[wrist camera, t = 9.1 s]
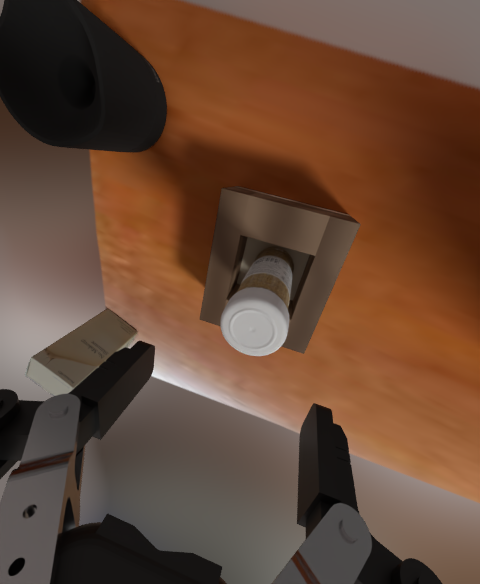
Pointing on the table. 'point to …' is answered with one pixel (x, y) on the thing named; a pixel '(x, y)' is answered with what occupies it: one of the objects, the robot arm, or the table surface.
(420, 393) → the table surface
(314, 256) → the socket block
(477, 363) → the table surface
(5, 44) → the pen holder
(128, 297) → the table surface
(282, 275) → the sprinkles bottle
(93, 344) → the skincare box
